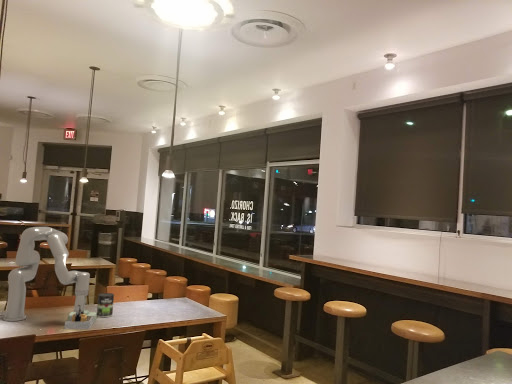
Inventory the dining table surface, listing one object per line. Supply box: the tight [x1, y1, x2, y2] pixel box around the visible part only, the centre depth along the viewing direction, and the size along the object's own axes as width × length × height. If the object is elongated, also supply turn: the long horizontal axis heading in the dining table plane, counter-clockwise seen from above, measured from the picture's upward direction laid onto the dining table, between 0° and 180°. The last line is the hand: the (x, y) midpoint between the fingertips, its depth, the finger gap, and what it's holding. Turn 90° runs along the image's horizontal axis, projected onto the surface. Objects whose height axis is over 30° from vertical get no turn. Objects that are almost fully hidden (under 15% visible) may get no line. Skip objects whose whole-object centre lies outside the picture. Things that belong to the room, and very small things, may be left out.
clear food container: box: [66, 309, 98, 322], centre depth 258 cm, size 16×9×5 cm, turn 103°
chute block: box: [72, 314, 87, 321], centre depth 247 cm, size 8×5×6 cm, turn 105°
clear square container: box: [64, 315, 94, 330], centre depth 247 cm, size 14×14×4 cm
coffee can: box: [96, 292, 115, 318], centre depth 272 cm, size 10×10×14 cm
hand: (79, 320), depth 247 cm, fingers open, 8 cm apart
